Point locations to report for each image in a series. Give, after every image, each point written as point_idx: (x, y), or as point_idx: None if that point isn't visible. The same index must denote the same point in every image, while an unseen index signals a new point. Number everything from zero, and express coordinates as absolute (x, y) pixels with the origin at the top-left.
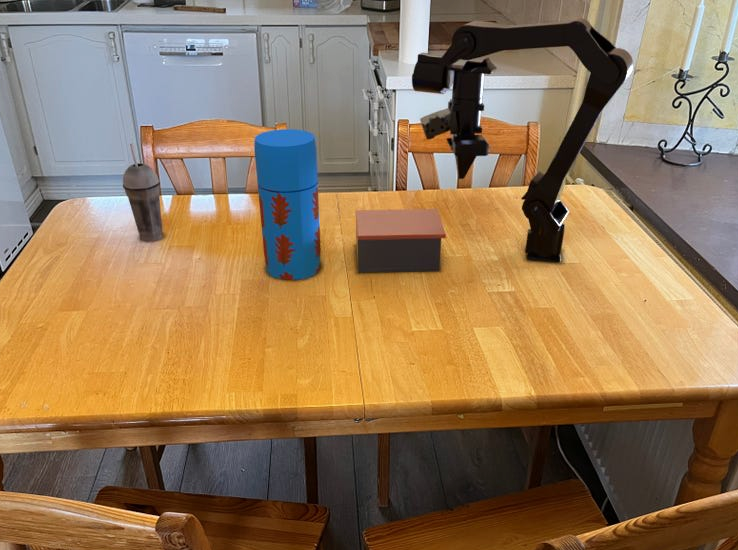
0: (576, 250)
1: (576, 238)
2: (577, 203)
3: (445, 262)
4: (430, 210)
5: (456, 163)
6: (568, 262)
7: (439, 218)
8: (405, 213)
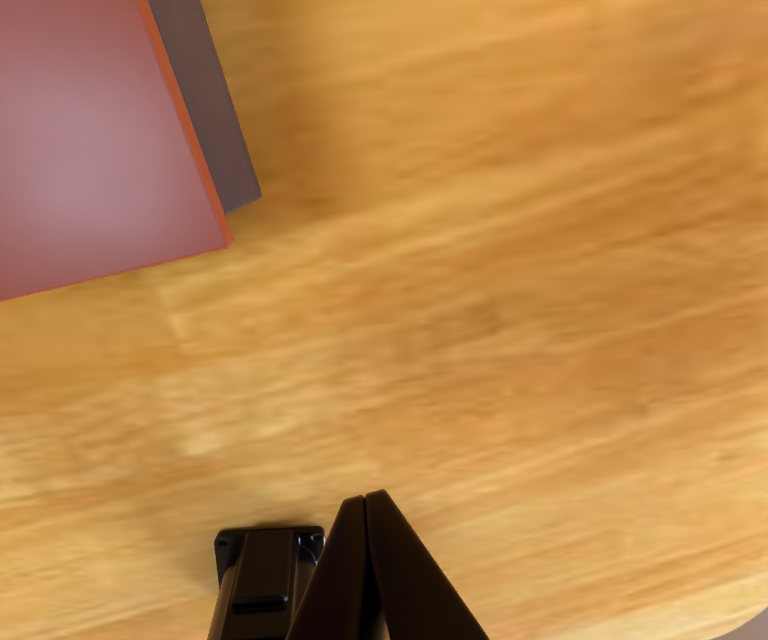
0: None
1: None
2: (659, 596)
3: None
4: (178, 199)
5: (413, 622)
6: None
7: (44, 283)
8: None
